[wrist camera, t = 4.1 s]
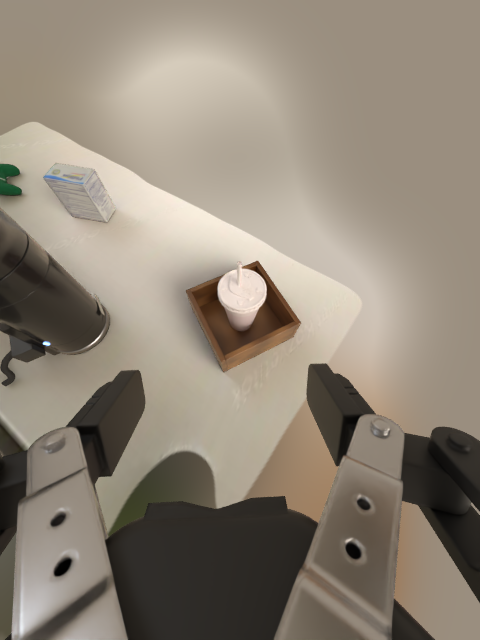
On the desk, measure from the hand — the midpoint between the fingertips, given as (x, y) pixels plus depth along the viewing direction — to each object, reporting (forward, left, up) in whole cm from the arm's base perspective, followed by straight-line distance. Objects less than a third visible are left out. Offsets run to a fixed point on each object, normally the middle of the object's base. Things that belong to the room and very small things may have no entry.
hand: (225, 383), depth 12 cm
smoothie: (+8, +13, -24) cm, 28 cm away
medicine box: (-8, +49, -25) cm, 55 cm away
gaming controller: (-23, +66, -25) cm, 74 cm away
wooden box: (+8, +13, -24) cm, 29 cm away
